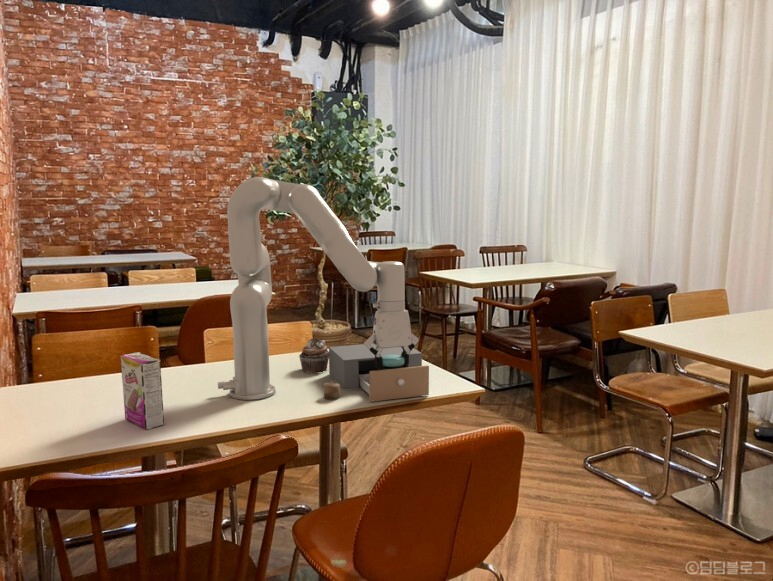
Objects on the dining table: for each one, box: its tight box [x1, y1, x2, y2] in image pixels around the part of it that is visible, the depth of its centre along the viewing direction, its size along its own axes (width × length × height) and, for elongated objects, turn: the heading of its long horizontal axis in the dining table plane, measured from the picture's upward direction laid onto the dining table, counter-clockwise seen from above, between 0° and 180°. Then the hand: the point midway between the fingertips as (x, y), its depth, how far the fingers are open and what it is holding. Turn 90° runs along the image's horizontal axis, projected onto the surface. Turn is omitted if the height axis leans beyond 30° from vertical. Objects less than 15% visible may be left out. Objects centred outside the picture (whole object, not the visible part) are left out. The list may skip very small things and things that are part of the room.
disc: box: [381, 355, 405, 367], centre depth 170 cm, size 7×7×2 cm
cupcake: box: [298, 337, 329, 374], centre depth 193 cm, size 10×10×10 cm
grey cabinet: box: [328, 343, 423, 391], centre depth 184 cm, size 17×24×9 cm
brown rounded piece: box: [323, 382, 341, 401], centre depth 166 cm, size 4×4×4 cm
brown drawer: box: [359, 364, 430, 402], centre depth 171 cm, size 18×17×8 cm
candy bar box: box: [120, 351, 165, 430], centre depth 146 cm, size 11×5×16 cm, turn 48°
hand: (392, 367), depth 170 cm, fingers closed on disc, 6 cm apart
